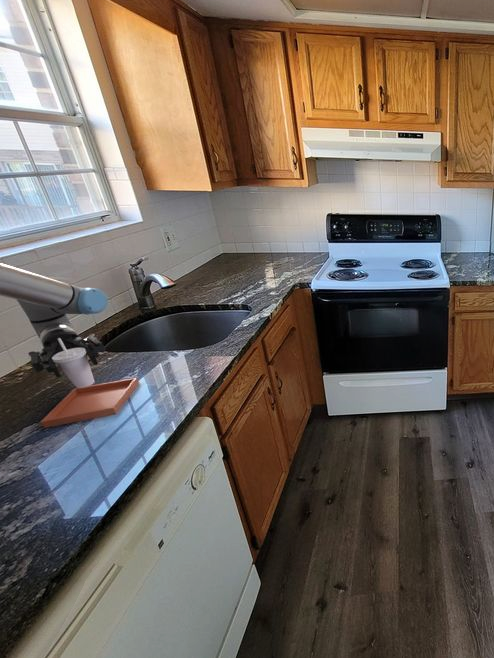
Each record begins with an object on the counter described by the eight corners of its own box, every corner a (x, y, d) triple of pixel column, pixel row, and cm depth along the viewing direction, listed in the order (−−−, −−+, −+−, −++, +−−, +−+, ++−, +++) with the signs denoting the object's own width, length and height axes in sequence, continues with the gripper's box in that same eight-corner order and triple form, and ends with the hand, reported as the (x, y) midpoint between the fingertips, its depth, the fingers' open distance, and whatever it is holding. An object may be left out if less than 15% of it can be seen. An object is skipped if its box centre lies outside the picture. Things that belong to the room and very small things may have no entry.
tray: (44, 428, 92) (40, 421, 91) (77, 394, 105) (74, 388, 104) (116, 413, 96) (113, 407, 95) (139, 383, 109) (137, 377, 108)
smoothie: (89, 376, 101) (65, 332, 95) (107, 378, 100) (84, 333, 94) (63, 390, 96) (35, 343, 90) (81, 392, 95) (55, 345, 88)
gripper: (109, 339, 113) (129, 362, 100) (19, 366, 100) (28, 397, 87) (98, 317, 110) (117, 338, 97) (4, 342, 97) (11, 370, 83)
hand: (75, 366), depth 92 cm, fingers closed on smoothie, 6 cm apart
